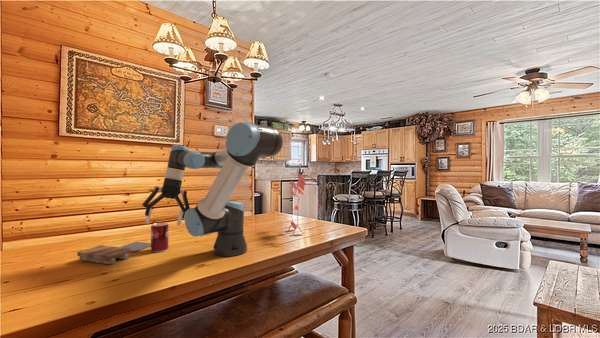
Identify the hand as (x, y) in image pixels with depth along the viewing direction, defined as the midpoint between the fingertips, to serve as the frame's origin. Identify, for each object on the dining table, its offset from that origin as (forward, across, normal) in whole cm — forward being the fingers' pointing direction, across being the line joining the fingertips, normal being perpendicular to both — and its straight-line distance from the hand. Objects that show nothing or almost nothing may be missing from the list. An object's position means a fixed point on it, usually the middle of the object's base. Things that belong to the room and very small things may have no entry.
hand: (163, 224), depth 123 cm
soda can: (+13, -2, -3) cm, 13 cm away
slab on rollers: (+17, +18, -4) cm, 25 cm away
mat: (+14, +5, -15) cm, 21 cm away
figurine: (-2, -73, +15) cm, 75 cm away
